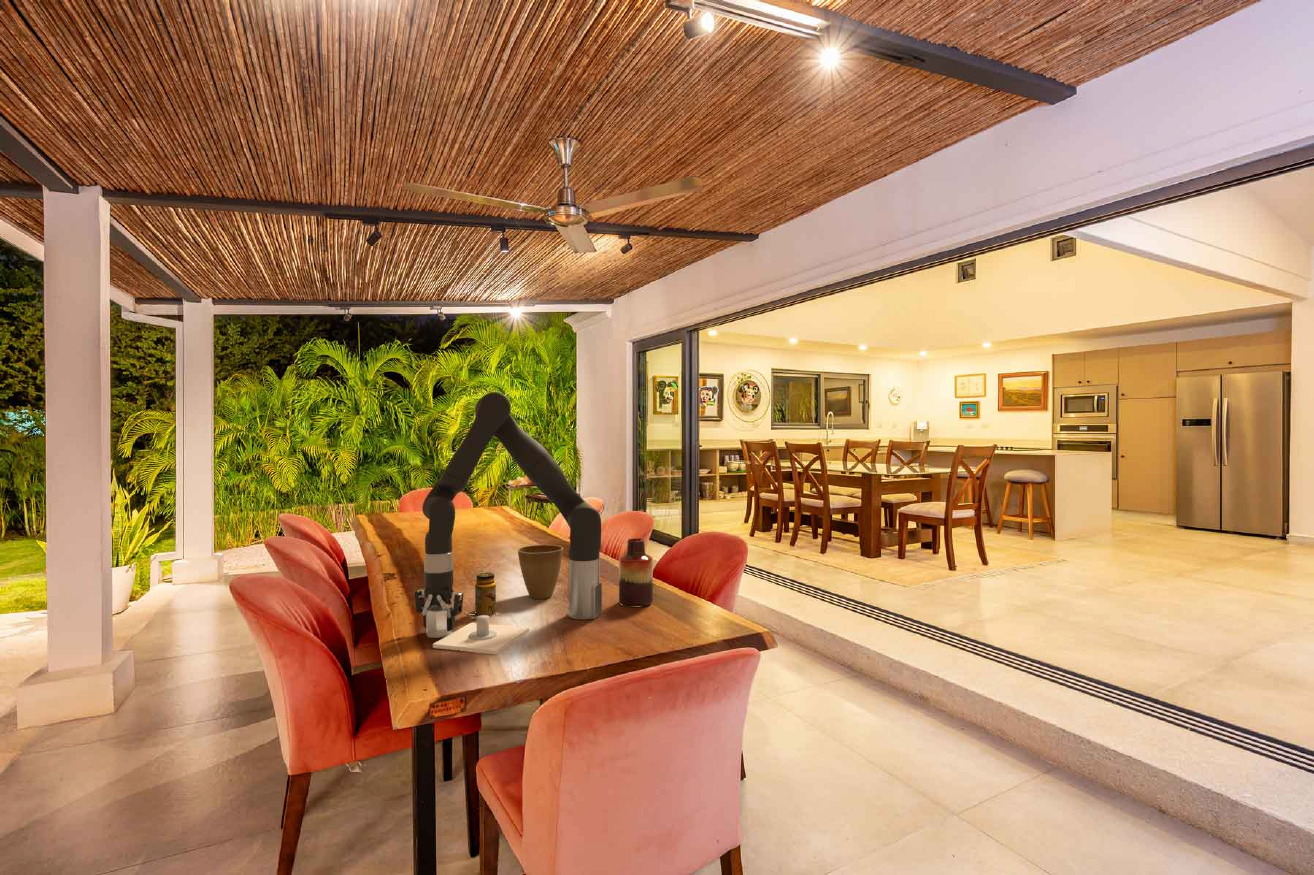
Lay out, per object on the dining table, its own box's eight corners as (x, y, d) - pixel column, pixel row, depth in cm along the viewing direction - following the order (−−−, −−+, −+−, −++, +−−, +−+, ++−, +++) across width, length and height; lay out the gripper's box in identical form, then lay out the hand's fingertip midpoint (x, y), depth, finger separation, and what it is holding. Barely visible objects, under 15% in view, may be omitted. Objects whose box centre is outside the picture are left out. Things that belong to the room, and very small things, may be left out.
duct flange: (529, 631, 174) (529, 610, 174) (495, 654, 157) (495, 630, 156) (471, 626, 179) (471, 605, 179) (432, 647, 161) (432, 624, 161)
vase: (659, 601, 204) (659, 538, 204) (640, 609, 195) (640, 544, 194) (631, 596, 210) (631, 535, 209) (612, 604, 201) (612, 540, 200)
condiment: (500, 615, 189) (500, 575, 189) (472, 619, 185) (472, 579, 184) (492, 609, 195) (492, 570, 195) (464, 613, 191) (464, 574, 191)
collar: (456, 630, 175) (456, 605, 174) (442, 638, 168) (442, 612, 168) (436, 628, 176) (435, 604, 176) (421, 636, 170) (421, 610, 170)
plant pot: (569, 591, 216) (569, 545, 215) (552, 603, 201) (552, 553, 201) (529, 589, 219) (529, 543, 219) (509, 600, 205) (509, 551, 204)
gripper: (469, 567, 174) (469, 627, 174) (424, 564, 177) (424, 623, 178) (454, 573, 166) (454, 636, 167) (407, 570, 170) (407, 631, 171)
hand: (439, 629), depth 172 cm, fingers closed on collar, 6 cm apart
